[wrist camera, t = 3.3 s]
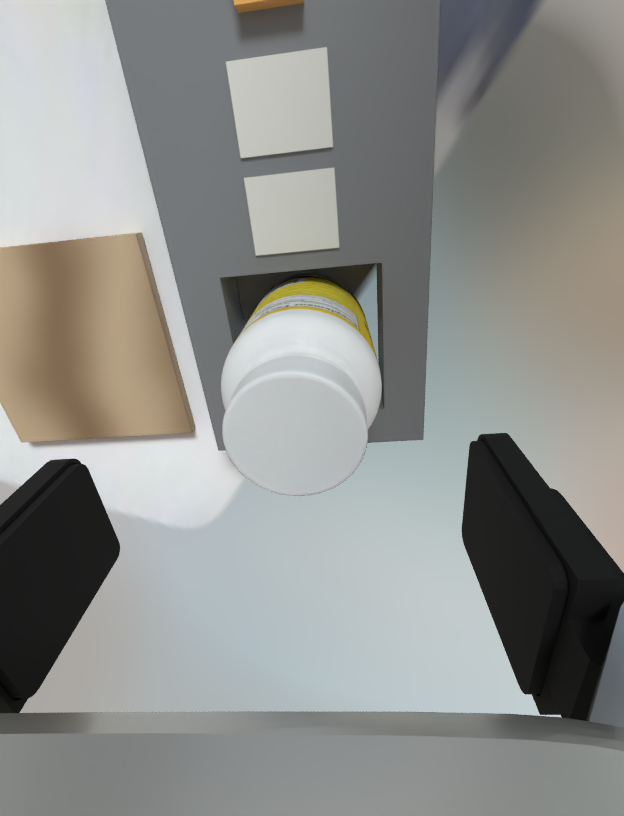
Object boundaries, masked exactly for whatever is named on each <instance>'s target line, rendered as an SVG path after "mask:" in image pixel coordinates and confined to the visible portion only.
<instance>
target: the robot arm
mask: <svg viewBox="0 0 624 816" xmlns="http://www.w3.org/2000/svg"><path fill="white" fill-rule="evenodd" d="M469 448H470V449H469V458H468V468H467V479H466V491H465V501H464V512H463V522H462V537H463V542H464V546H465V548H466V551H467V553H468V556H469V558H470V561H471V564H472V566H473V569H474V571H475V573H476V576H477V579H478V581H479V584H480V587H481V589H482V592H483V594H484V597H485V600H486V602H487V605H488V607H489V610H490V612H491V615H492V617H493V620H494V622H495V625H496V628H497V630H498V633H499V635H500V638H501V640H502V643H503V646H504V648H505V651H506V653H507V656H508V659H509V661H510V664H511V666H512V669H513V671H514V674H515V677H516V679H517V682H518V684H519V686H520V689H521V690H522V692H523V693H524V694H532V696H533V698H534V701H535V703H536V706H537V708H538V711H539V713H540V715H554V714H555V715H561V717H562V718H560V717H546V716H532V715H518V714H486V713H485V714H484V713H436V712H435V713H434V712H104V713H103V712H92V713H91V712H90V713H88V712H86V713H84V712H83V713H19V712H20V711H21V709H22V708H23V706H24V704H25V703H26V701H27V699H28V698H30V697H32V696H33V695H34V694H35V693H36V692H37V690H38V689H39V688H40V686H41V684H42V683H43V681H44V679H45V678H46V676H47V674H48V673H49V671H50V669H51V668H52V666H53V664H54V663H55V661H56V659H57V658H58V656H59V654H60V653H61V651H62V649H63V648H64V646H65V645H66V643H67V641H68V639H69V638H70V636H71V635H72V632H73V631H74V630H75V628H76V626H77V625H78V623H79V621H80V620H81V618H82V616H83V614H84V613H85V611H86V610H87V608H88V606H89V605H90V603H91V601H92V600H93V598H94V596H95V595H96V593H97V591H98V590H99V588H100V586H101V585H102V583H103V581H104V580H105V578H106V577H107V575H108V573H109V572H110V570H111V568H112V567H113V565H114V563H115V562H116V560H117V558H118V556H119V552H120V544H119V541H118V539H117V536H116V534H115V532H114V529H113V527H112V524H111V522H110V520H109V518H108V515H107V513H106V510H105V508H104V506H103V503H102V501H101V498H100V496H99V494H98V491H97V489H96V487H95V484H94V482H93V479H92V477H91V475H90V472H89V470H88V468H87V467H86V466H85V465H84V464H81V462H80V461H79V460H77V459H61V460H51V461H49V462H47V463H46V464H45V465H44V466H43V467H42V468H40V469H39V470H38V471H37V472H36V473H35V474H34V475H33V476H32V477H31V478H29V479H28V480H27V481H26V482H25V483H24V484H23V485H22V486H21V487H20V488H19V489H17V490H16V491H15V492H14V493H13V494H12V495H11V496H10V497H9V498H8V499H6V500H5V501H4V502H3V503H2V504H1V505H0V816H624V573H623V572H622V571H621V569H620V568H619V567H618V565H617V564H616V563H615V562H614V561H613V559H612V558H611V557H610V555H609V554H608V553H607V552H606V550H605V549H604V548H603V546H602V545H601V544H600V543H599V541H598V540H597V539H596V538H595V536H594V535H593V534H592V533H591V531H590V530H589V529H588V528H587V526H586V525H585V524H584V523H583V521H582V520H581V519H580V518H579V516H578V515H577V514H576V512H575V511H574V510H573V509H572V507H571V506H570V505H569V503H568V502H567V501H566V500H565V498H564V497H563V496H562V495H561V494H560V493H559V492H558V491H557V490H555V489H550V488H549V486H548V485H547V484H546V483H545V481H544V480H543V479H542V477H541V476H540V475H539V473H538V472H537V471H536V470H535V468H534V467H533V466H532V464H531V463H530V462H529V460H528V459H527V458H526V457H525V455H524V454H523V453H522V451H521V450H520V449H519V448H518V446H517V445H516V444H515V442H514V441H513V440H512V438H511V437H510V436H509V435H508V434H507V433H499V434H498V433H497V434H481V435H480V436H479V437H478V440H477V441H472V442H471V443H470V447H469Z"/></svg>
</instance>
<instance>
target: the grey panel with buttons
mask: <svg viewBox="0 0 624 816" xmlns="http://www.w3.org/2000/svg"><path fill="white" fill-rule="evenodd" d="M105 1H106V5H107V9H108V13H109V17H110V21H111V25H112V29H113V33H114V37H115V41H116V45H117V49H118V53H119V57H120V61H121V65H122V69H123V73H124V77H125V81H126V85H127V89H128V93H129V97H130V101H131V104H132V108H133V112H134V116H135V120H136V124H137V128H138V132H139V136H140V140H141V144H142V148H143V152H144V156H145V160H146V164H147V168H148V172H149V176H150V180H151V184H152V188H153V192H154V196H155V200H156V204H157V208H158V212H159V216H160V220H161V224H162V228H163V232H164V236H165V240H166V244H167V248H168V252H169V256H170V260H171V264H172V267H173V271H174V275H175V279H176V283H177V287H178V291H179V295H180V299H181V303H182V307H183V311H184V315H185V319H186V323H187V327H188V331H189V335H190V339H191V343H192V347H193V351H194V355H195V359H196V363H197V367H198V371H199V375H200V379H201V383H202V387H203V391H204V395H205V399H206V403H207V407H208V411H209V415H210V419H211V423H212V427H213V430H214V434H215V438H216V442H217V446H218V450H219V451H220V450H226V449H225V445H224V442H223V435H222V425H223V418H224V414H225V411H226V410H225V407H224V405H223V400H222V393H221V377H222V371H223V367H224V364H225V360H226V358H227V356H228V353H229V351H230V349H231V347H232V346H233V344H234V342H235V341H236V339H237V338H238V336H239V335H240V333H241V332H242V330H243V329H244V327H245V326H244V321H243V315H242V310H241V304H240V299H239V293H238V288H237V282H236V277H235V276H244V275H255V274H266V273H276V272H287V271H297V270H308V269H319V268H329V267H340V266H351V265H361V264H372V263H377V303H378V351H379V368H380V374H381V382H382V392H381V401H380V405H379V409H378V412H377V414H376V417H375V419H374V421H373V423H372V424H371V426H370V427H369V429H368V442H367V443H370V442H388V441H405V440H406V441H407V440H423V432H424V430H423V429H424V406H425V380H426V355H427V354H426V353H427V329H428V303H429V277H430V252H431V226H432V200H433V175H434V149H435V124H436V98H437V73H438V47H439V21H440V0H105Z"/></svg>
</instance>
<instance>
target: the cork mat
mask: <svg viewBox="0 0 624 816" xmlns="http://www.w3.org/2000/svg"><path fill="white" fill-rule="evenodd" d="M0 403H1V405H2V407H3V409H4V410H5V412H6V414H7V416H8V418H9V420H10V422H11V424H12V426H13V428H14V429H15V431H16V433H17V435H18V437H19V439H20V441H21V442H37V441H55V440H72V439H89V438H106V437H123V436H141V435H158V434H175V433H192V431H193V430H194V428H195V425H194V421H193V417H192V414H191V410H190V406H189V403H188V399H187V396H186V392H185V388H184V385H183V381H182V377H181V374H180V370H179V367H178V363H177V359H176V356H175V352H174V348H173V345H172V341H171V337H170V334H169V330H168V327H167V323H166V319H165V316H164V312H163V308H162V305H161V301H160V298H159V294H158V290H157V287H156V283H155V279H154V276H153V272H152V269H151V265H150V261H149V258H148V254H147V250H146V247H145V243H144V240H143V236H142V233H133V234H124V235H114V236H105V237H96V238H86V239H77V240H67V241H58V242H49V243H39V244H30V245H21V246H11V247H2V248H0Z"/></svg>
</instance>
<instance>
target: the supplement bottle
mask: <svg viewBox="0 0 624 816" xmlns="http://www.w3.org/2000/svg"><path fill="white" fill-rule="evenodd" d="M381 392H382V382H381V374H380V368H379V364H378V361H377V357H376V354H375V350H374V347H373V343H372V339H371V336H370V332H369V329H368V325H367V321H366V318H365V315H364V313H363V310H362V308H361V306H360V304H359V302H358V301H357V299H356V298H355V297H354V295H353V294H352V293H351V292H350V291H349V290H348V289H347V288H345V287H344V286H343V285H341V284H340V283H338V282H336V281H335V280H332V279H330V278H327V277H324V276H319V275H298V276H294V277H291V278H288V279H286V280H284V281H282V282H280V283H278V284H277V285H275V286H274V287H273V288H272V289H271V290H270V291H269V292H268V293H267V294H266V295H265V296H264V297H263V298H262V300H261V302H260V303H259V304H258V306H257V308H256V309H255V311H254V312H253V314H252V316H251V317H250V319H249V320H248V322H247V324H246V325H245V327H244V329H243V330H242V332H241V333H240V335H239V336H238V338H237V339H236V341H235V342H234V344H233V346H232V347H231V349H230V351H229V353H228V356H227V358H226V360H225V364H224V367H223V371H222V377H221V393H222V400H223V405H224V407H225V410H226V411H225V414H224V418H223V425H222V435H223V442H224V445H225V449H226V451H227V453H228V456H229V458H230V460H231V461H232V463H233V464H234V466H235V467H236V468H237V469H238V470H239V471H240V472H241V474H242V475H244V476H245V477H246V478H247V479H249V480H250V481H252V482H253V483H254V484H256V485H258V486H260V487H262V488H264V489H266V490H269V491H271V492H275V493H279V494H284V495H294V496H304V495H312V494H317V493H321V492H324V491H327V490H329V489H332V488H334V487H336V486H338V485H339V484H341V483H342V482H343V481H345V480H346V479H347V478H348V477H350V475H351V474H353V472H354V471H355V470H356V469H357V467H358V466H359V464H360V463H361V461H362V459H363V456H364V454H365V451H366V448H367V442H368V429H369V427H370V426H371V424H372V423H373V421H374V419H375V417H376V414H377V412H378V409H379V405H380V401H381Z"/></svg>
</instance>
